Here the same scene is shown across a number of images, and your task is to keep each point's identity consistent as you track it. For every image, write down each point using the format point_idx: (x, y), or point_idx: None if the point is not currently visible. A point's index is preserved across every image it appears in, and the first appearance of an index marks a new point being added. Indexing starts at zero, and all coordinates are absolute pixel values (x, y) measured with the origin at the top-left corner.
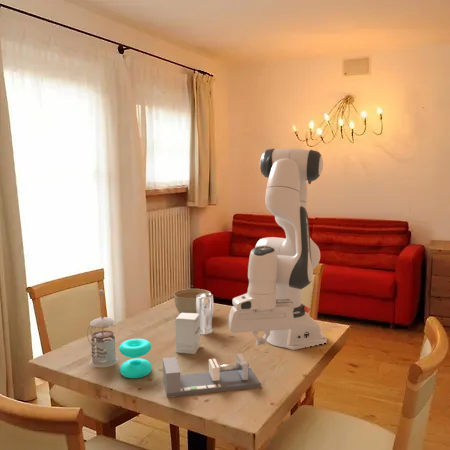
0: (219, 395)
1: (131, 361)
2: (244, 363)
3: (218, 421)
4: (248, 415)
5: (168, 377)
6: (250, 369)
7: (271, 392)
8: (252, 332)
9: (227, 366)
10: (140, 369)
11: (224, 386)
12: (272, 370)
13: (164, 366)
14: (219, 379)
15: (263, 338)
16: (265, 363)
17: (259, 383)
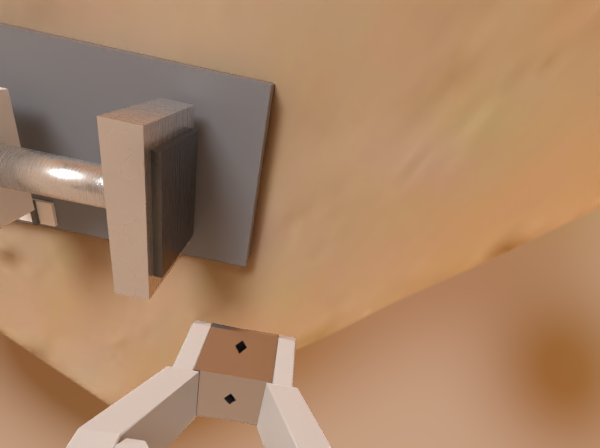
0: (62, 245)
1: None
2: (126, 288)
3: (50, 363)
4: (143, 373)
5: None
6: (260, 110)
7: (271, 305)
8: (75, 438)
9: (43, 194)
10: None
11: (74, 228)
12: (401, 130)
13: None
14: (31, 211)
15: (259, 405)
16: (431, 3)
17: (241, 265)
